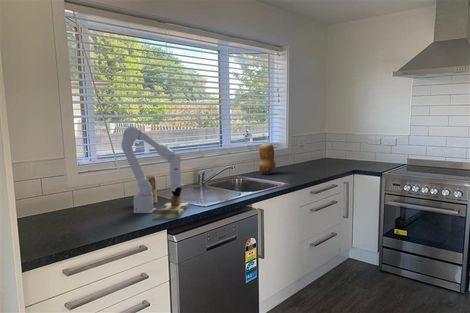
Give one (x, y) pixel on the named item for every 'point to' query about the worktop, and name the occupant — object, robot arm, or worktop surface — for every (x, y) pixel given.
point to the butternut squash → (266, 158)
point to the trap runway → (171, 211)
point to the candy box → (153, 186)
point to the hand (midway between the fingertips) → (177, 201)
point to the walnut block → (175, 201)
